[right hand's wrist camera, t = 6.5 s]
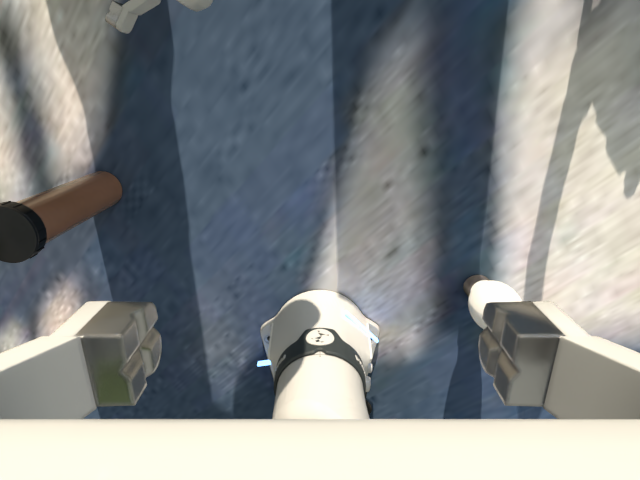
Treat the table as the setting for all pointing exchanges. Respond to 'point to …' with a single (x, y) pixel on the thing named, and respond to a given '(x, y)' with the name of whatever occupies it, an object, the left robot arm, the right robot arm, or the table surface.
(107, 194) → the brown cylinder
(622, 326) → the table surface
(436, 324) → the table surface
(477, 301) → the light bulb
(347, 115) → the table surface
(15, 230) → the lid
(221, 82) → the table surface
